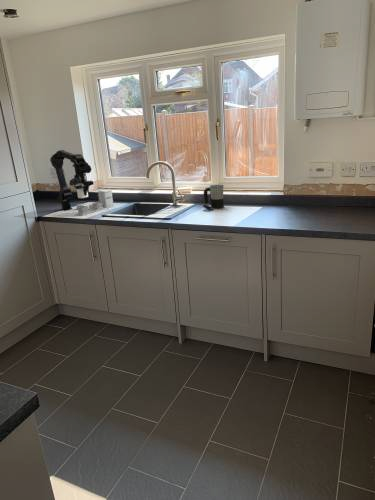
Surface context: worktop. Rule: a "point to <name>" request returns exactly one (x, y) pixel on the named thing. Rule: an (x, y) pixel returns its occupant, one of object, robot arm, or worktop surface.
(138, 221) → the worktop surface
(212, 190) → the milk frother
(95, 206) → the rail
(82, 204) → the block
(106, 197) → the supplement box
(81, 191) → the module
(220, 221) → the worktop surface
